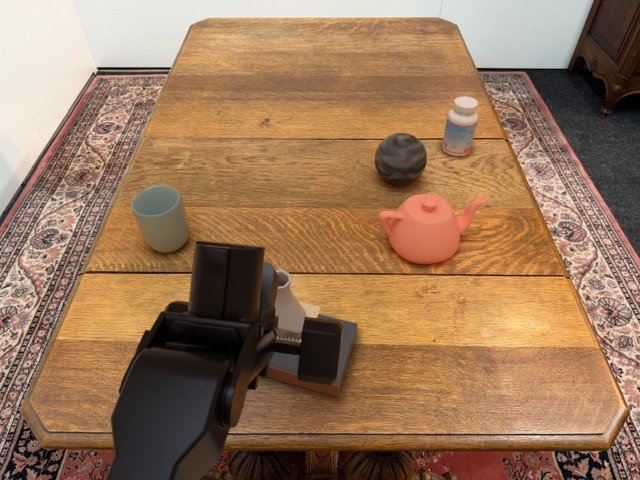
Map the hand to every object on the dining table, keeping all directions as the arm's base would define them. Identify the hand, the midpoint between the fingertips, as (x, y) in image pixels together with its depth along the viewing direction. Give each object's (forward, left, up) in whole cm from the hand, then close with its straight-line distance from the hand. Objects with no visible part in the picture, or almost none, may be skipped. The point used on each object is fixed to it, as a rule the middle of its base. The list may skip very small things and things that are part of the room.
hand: (269, 327), depth 57 cm
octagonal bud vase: (+6, +1, -8) cm, 10 cm away
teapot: (+31, -16, -11) cm, 37 cm away
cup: (+18, +27, -11) cm, 34 cm away
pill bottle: (+61, -18, -11) cm, 65 cm away
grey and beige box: (+4, -1, -11) cm, 12 cm away
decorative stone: (+47, -8, -11) cm, 49 cm away
